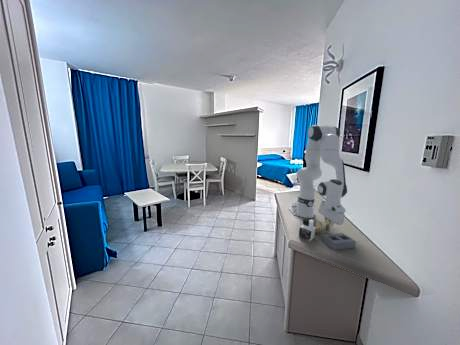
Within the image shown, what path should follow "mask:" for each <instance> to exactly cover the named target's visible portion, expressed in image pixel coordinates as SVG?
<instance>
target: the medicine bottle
mask: <svg viewBox="0 0 460 345" xmlns="http://www.w3.org/2000/svg"><path fill="white" fill-rule="evenodd" d="M314 222H315V221H314V219H312V218H305V217H304V218H303V221H302V225H301V226H299V231H298V232H299V233H298V238H300V239H303V240H305V241H307V242H311V241H312V240H313V239H314V238H315V235H316V234H315V229H316V226H314V225H315V224H314Z"/></svg>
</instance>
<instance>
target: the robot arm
mask: <svg viewBox="0 0 460 345" xmlns="http://www.w3.org/2000/svg"><path fill="white" fill-rule="evenodd" d="M340 135H341V130H340V129H339V127H338V126H337V127H336V126H332V125H326V124H325V125H321V124H320V125H319V124H318V125H317V124H313V125H310V127H309V128H308V130H307V137H308V141H307V143H306V148H305V153H304V160H305V163H306V167H305V166H304V167H302V168H300V169H298V170H297V171H296V179H297V180H298V183H299V194H298V195H299V196H297V200H296V201H294V202H292V203H291V207H288V210H289V211H290V212H291V214H292V215H294V216H296V217H301V218H304V219H305V218H310V219H312V218H314V217H315V215H316V212H315V192H316V188H315V187H314V181H316V180H318V179H319V178H321V176H322V170H321V160H322V162H323V163H325V164H327V165H329V166H331V167H332V168H333V169H334V170H335V176H336V178H335V179H334V178H333V179H329V180H327V181H322V182H321V181H320V182H319V184H318V186H317V193H318V194H319V195H320V196H323V197H325V199H323V200H322V201H321V202H320V204H319V207H318V213H319V214H321V215H322V216H323V218H324V219H323V220H324V224H326V220H327V218H328V219H329V220H331V223H330V224H329V226H330V227H331V228H333V226H334V224H335V225H339V226H341V225H343V224H344V222H345V217H346V215H345V213H346V208H345V207H344V206H343V205H342V204H341V203H342V202H341V198H344V197H345V196H346V195H347V193H348V187H347V182H346V172H345V170H346V169H345V163H344V160H343V159H342V158H341V156H340Z"/></svg>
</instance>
